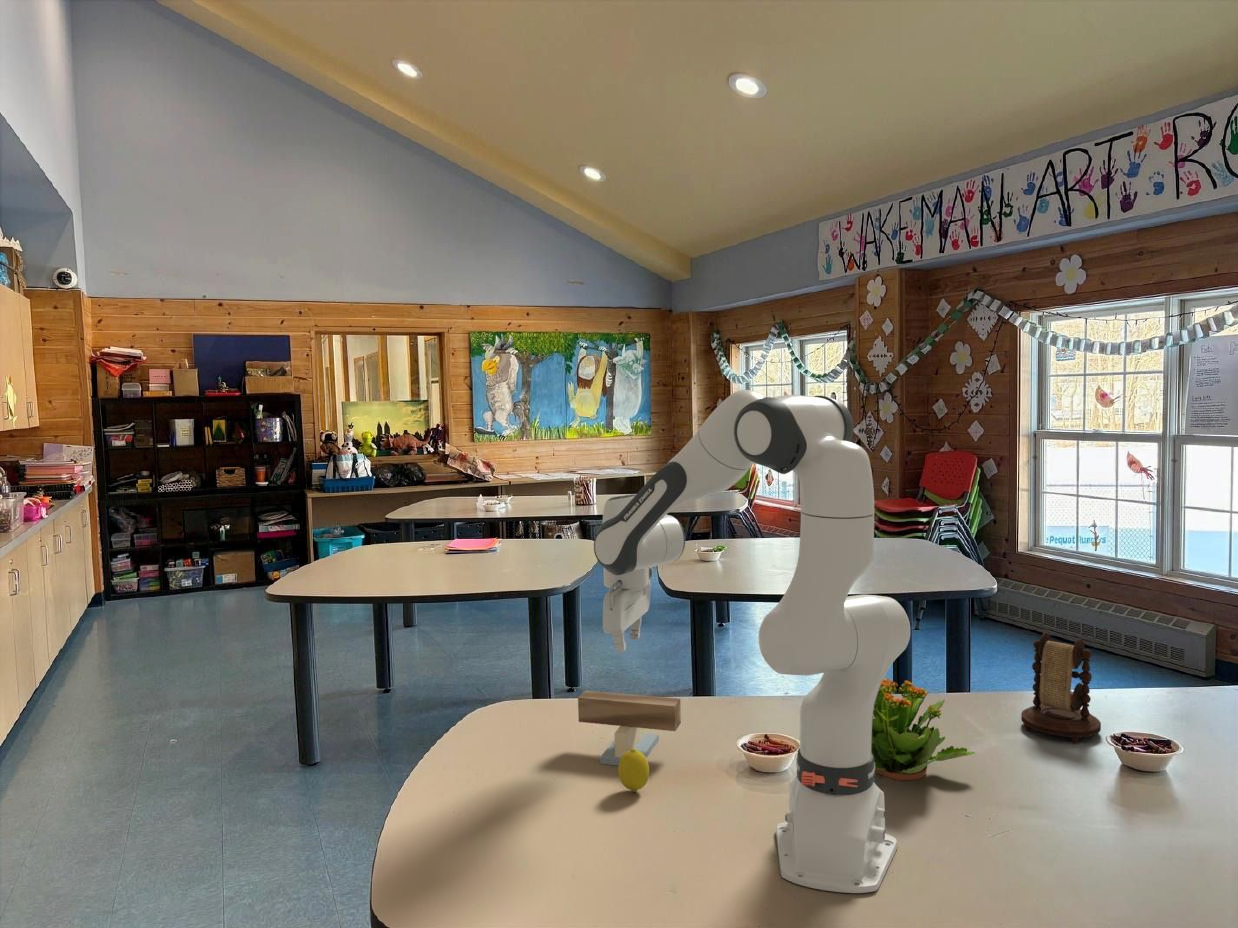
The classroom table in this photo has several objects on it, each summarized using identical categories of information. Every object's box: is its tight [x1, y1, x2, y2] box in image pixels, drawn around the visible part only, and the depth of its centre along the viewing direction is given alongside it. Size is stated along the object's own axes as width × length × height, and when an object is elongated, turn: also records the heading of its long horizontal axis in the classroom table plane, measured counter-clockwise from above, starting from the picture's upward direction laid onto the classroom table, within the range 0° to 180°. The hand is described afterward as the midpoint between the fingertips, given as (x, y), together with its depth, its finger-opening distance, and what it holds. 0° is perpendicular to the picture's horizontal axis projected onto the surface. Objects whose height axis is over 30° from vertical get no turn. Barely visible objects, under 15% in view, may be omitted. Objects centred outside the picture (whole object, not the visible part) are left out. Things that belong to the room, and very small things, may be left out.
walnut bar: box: [577, 690, 682, 732], centre depth 179 cm, size 4×20×5 cm, turn 72°
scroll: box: [1020, 632, 1102, 744], centre depth 185 cm, size 15×15×20 cm
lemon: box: [618, 749, 650, 793], centre depth 162 cm, size 6×6×8 cm
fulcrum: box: [599, 726, 660, 767], centre depth 180 cm, size 14×8×6 cm, turn 162°
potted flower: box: [871, 677, 976, 781], centre depth 167 cm, size 25×24×18 cm
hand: (627, 644), depth 178 cm, fingers open, 8 cm apart
